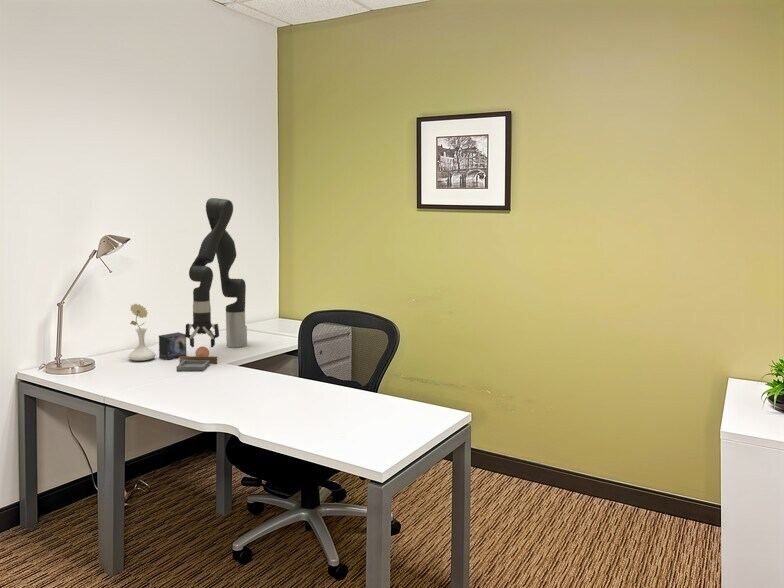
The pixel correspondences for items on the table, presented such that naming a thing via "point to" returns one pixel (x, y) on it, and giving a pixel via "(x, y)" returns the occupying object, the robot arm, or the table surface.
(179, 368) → the tray
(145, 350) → the flower in vase
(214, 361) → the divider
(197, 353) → the ball
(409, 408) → the table surface
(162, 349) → the small box
